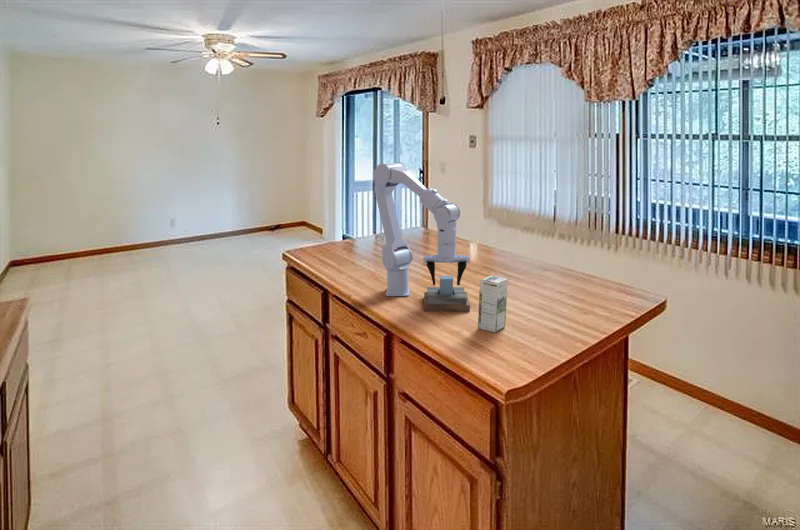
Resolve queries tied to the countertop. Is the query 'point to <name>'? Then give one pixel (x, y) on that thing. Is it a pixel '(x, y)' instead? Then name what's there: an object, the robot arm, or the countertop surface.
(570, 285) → the countertop surface
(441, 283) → the blue peg
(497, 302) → the syrup box
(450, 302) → the socket block
